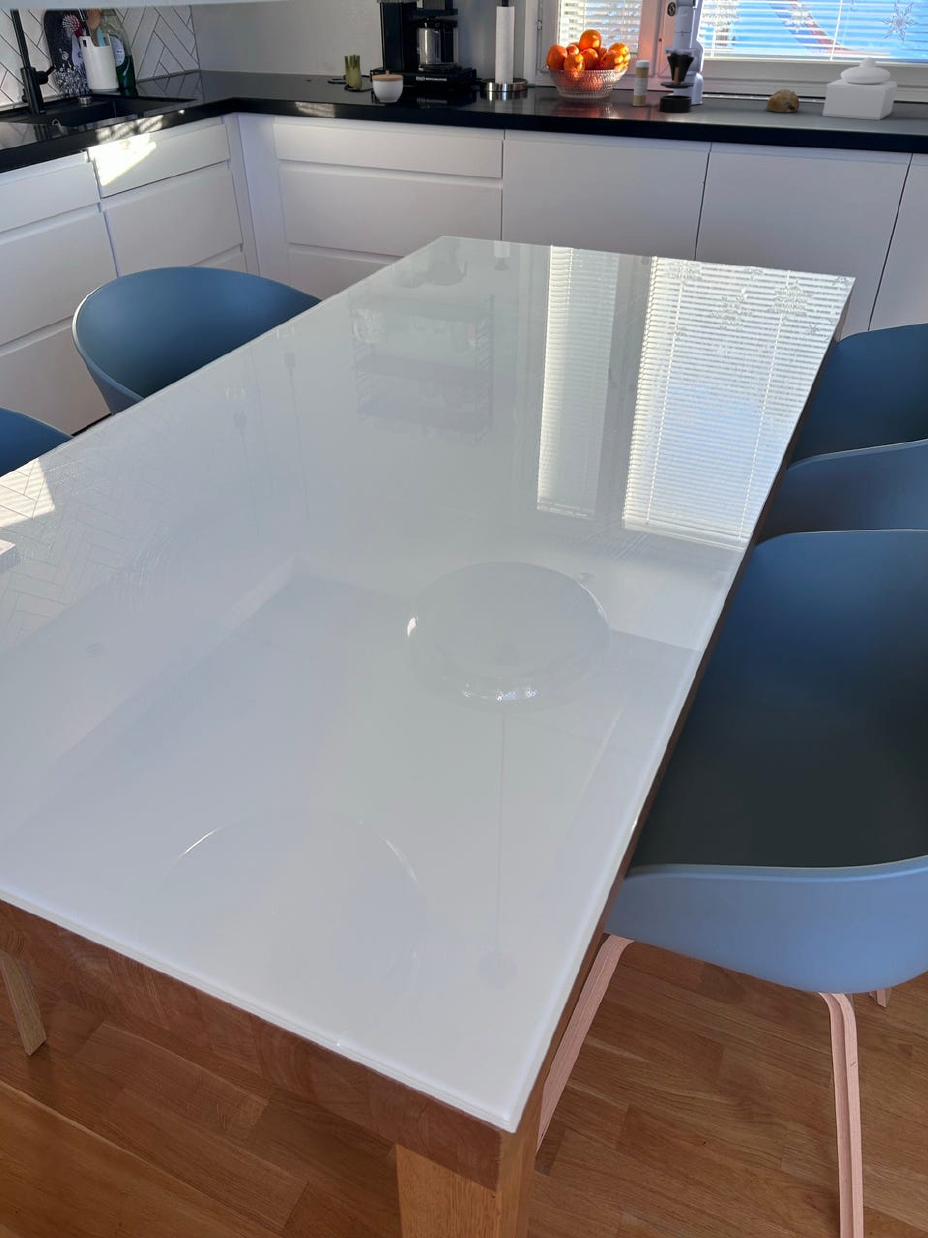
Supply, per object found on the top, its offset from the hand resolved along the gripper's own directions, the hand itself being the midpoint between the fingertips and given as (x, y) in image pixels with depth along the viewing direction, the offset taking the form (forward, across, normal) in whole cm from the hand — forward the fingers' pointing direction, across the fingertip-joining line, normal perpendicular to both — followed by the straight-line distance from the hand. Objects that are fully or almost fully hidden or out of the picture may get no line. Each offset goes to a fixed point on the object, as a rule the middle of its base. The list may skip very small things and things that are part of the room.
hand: (677, 80), depth 308 cm
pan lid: (+1, 0, 0) cm, 1 cm away
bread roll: (+9, +19, +30) cm, 36 cm away
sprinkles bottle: (+9, -15, -2) cm, 18 cm away
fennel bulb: (+9, -108, -66) cm, 127 cm away
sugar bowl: (+9, -72, -70) cm, 101 cm away
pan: (+9, 0, 0) cm, 9 cm away
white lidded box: (+9, +38, +44) cm, 58 cm away
